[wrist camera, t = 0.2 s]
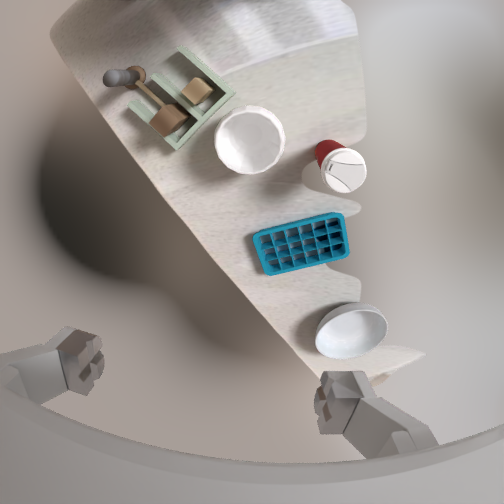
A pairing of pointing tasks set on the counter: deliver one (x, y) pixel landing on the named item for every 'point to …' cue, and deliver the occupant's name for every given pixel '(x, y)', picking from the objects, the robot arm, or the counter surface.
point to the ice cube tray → (327, 235)
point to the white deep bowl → (249, 140)
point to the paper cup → (340, 166)
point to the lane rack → (184, 100)
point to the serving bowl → (350, 331)
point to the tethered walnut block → (168, 115)
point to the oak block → (198, 90)
